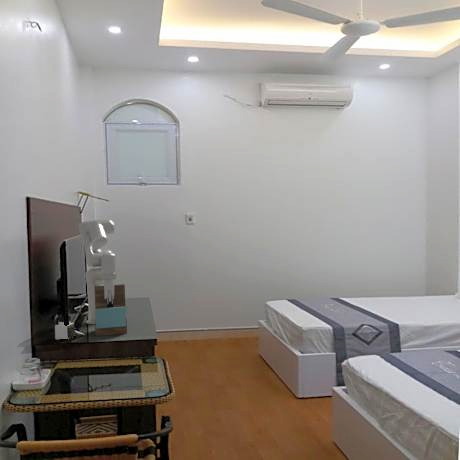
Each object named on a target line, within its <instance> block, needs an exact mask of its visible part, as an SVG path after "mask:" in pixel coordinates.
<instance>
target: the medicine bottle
mask: <svg viewBox="0 0 460 460" xmlns="http://www.w3.org/2000/svg"><path fill="white" fill-rule="evenodd" d="M68 319H69V325H67V326H65V325H64V317H63V316H62V314H59V315H58V317H57V320H58V321H57V322H58V324H55V325H54V334H55V336H54V338H55V340H60V339H68V340H70V339H72V338H74V337H73V336H75V337H76V329H75V323H74V322H72V319H71V314H69V315H68ZM71 337H72V338H71ZM69 338H70V339H69Z"/></svg>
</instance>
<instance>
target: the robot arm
mask: <svg viewBox="0 0 460 460" xmlns="http://www.w3.org/2000/svg"><path fill="white" fill-rule="evenodd" d="M115 227H116V226H115V223H114V222H113V220H111V219H94V220H86V221H82V222H81V223H79V227H78V229H79V230H78V231H79V235H80V238H81V240H82V242H83V244H84V252H85V254H84V255H85V261H86V264H87V266H88V267H90V269H88V270H86V272H85V282H86V287H87V304H88V306H87V308H88V319H87V320H86V324H87V325H95V288H94V286H102V285H103V286H104V299H106V298H107V302H108V304H107V308H113V307H114V306H113V298H114V285H115V282H116V281H117V264H116V263H117V262H116V260H117V258H116V254H115V253H113V251H111V250H110V249H101V248H103V247H104V246H106V245H107V244H108V241H109V240H108V236H107V235H112V234H114V233H115Z"/></svg>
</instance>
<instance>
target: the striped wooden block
mask: <svg viewBox="0 0 460 460" xmlns="http://www.w3.org/2000/svg"><path fill="white" fill-rule="evenodd" d="M125 285H126V284H125V283H124V284H114V298H113V306H114V307H125V311H126V309H127V308H126V287H125ZM94 288H95V309H100V308H107V304H108V302H107V298H106V299H104V285H100V286H94ZM126 312H127V311H126ZM94 331H95V337H101V336H102V335H103V336H112V335H114V336H115V335H124V334H128V323H127V317H126V326H122V327H110V328H98V329H96V320H95V324H94Z"/></svg>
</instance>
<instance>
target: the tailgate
mask: <svg viewBox="0 0 460 460" xmlns="http://www.w3.org/2000/svg"><path fill="white" fill-rule="evenodd" d="M125 307H126V306H125ZM125 307H113V308H100V309H95V320H96V329H98V328H110V327H122V326H126V318H127V311H125Z"/></svg>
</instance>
